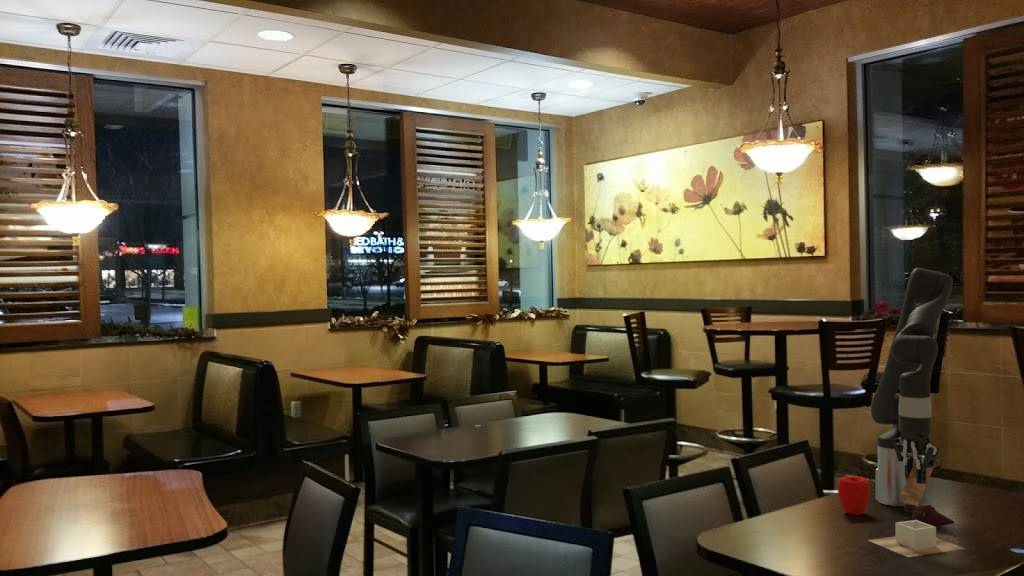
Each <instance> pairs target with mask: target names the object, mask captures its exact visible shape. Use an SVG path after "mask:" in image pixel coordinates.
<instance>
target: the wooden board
mask: <svg viewBox="0 0 1024 576" xmlns="http://www.w3.org/2000/svg"><path fill="white" fill-rule="evenodd" d="M867 541H868V542H870V543H873V544H875V545H878V546H880V547H882V548H885V549H887V550H889V551H892V552H895V553H896V554H899V555H902V556H904V557H906V558H912V557H919V556H926V555H927V556H928V555H934V554H941V553H947V552H956V551H961V550H966V548H965V547H962V546H961V545H960V546H959V545H956V544H954V543H951V542H948V541H946V540H944V539H942V538H941V539H940V538H938V537H936V547H932V548H925V549H917V550H914V549H912V548H909V547H907V546H904V545H902V544H899V543H897V542H896V536H889V537H888V536H887V537H881V538H873V539H867Z"/></svg>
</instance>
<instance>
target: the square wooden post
mask: <svg viewBox="0 0 1024 576" xmlns="http://www.w3.org/2000/svg"><path fill="white" fill-rule="evenodd" d="M921 464H922V459H921ZM935 465H936V462H935V463H934V466H933V467H931V468H927V469H926V482H925V483H924V484H918V483H917V482H916V469H917V466H916V460H915V459H914V464H913V467H912V470H911V472H910V474H909V477H908V479H907V481H906V483H905V486H904V488H903V491H902V493H901V496H900V499H902V500H904V501H905V502H907V503H910V504H913V505H914V506H915V507H918V506H920V505H919V504H920V502H921V499H922V497H923V495H924V493H925V490H926V487H927V484H928V482H929V480H930V478H931V476H932V472H933V471H934V467H935Z"/></svg>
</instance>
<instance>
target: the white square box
mask: <svg viewBox="0 0 1024 576" xmlns="http://www.w3.org/2000/svg"><path fill="white" fill-rule="evenodd" d="M894 529H895V536H896V542H897V543H899V544H902V545H904V546H907V547H909V548H912V549H914V550H917V549H925V548H932V547H936V538H937V527H934V526H931V525H929V524H926V523H923V522H920V521H918V520H912V521H898V522H895V527H894Z"/></svg>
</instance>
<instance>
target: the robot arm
mask: <svg viewBox="0 0 1024 576" xmlns="http://www.w3.org/2000/svg"><path fill="white" fill-rule="evenodd" d="M953 283H954V281H953V278H952V276H951V275H949V274H947V273H944V272H940V271H936V270H932V269H927V268H923V267H916V268H914V269H913V270H912V271H911V273H910V276H909V278H908V282H907V285H906V290H905V294H904V298H903V299H904V300H903V302H902V308H901V312H900V316H899V319H898V323H897V326H896V329H895V332H894V335H893V338H892V341H891V345H890V348H889V352H888V357H887V360H886V363H885V367H884V370H883V374H882V376H881V378H880V381H879V383H878V386H877V389H876V390H875V393H874V395H873V398H872V402H871V406H870V414H871V418H872V419H873V421H874V422H875V423H876V424H879V425H892V426H891V428H890V429H889V430H888V431H885V432H884V433H882V434H879V435H878V437H877V468H875V471H874V472H875V500H876V501H878V502H879V503H880V504H883V505H886V506H891V507H904V505H905V504H910V503H907V502H905V501H904V500H902V499H900V496H901V493H902V491H903V488H904V486H905V483H906V481H907V479H908V477H909V474H910V472H911V470H912V467H913V464H914V461H915V460H916V466H917V469H916V482H917V483H918V484H924V483H925V482H926V469H927V468H931V467H933V466H934V467H935V465H934V463H935V464H936V460H937V457H938V455H939V452H940V447H939V446H934V445H933V444H931V439H930V435H931V434H932V431H933V430H932V423H933V422H932V402H931V380H932V379H931V378H932V373H933V369H934V365H935V362H936V359H937V357H938V352H939V345H938V341H936V339H935V338H934V336H935V334H936V329H937V324H938V323H939V322H938V321H939V320H940V318H941V316H942V314H943V312H944V311H945V308H946V306H947V304H948V301H949V299H950V297H951V294H952V290H953V286H954V284H953ZM917 302H919V303H920V302H921V303H924V304H922V305H919V306H918V307H917ZM898 391H899V393H897V392H898ZM921 459H922V464H921Z"/></svg>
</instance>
